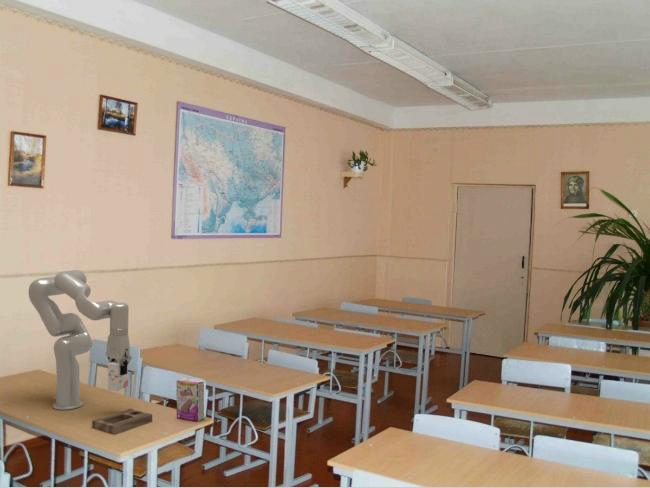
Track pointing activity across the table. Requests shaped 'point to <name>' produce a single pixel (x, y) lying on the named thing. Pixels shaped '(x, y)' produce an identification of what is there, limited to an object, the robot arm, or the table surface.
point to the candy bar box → (190, 399)
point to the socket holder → (121, 421)
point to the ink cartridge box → (116, 376)
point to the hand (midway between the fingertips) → (118, 372)
